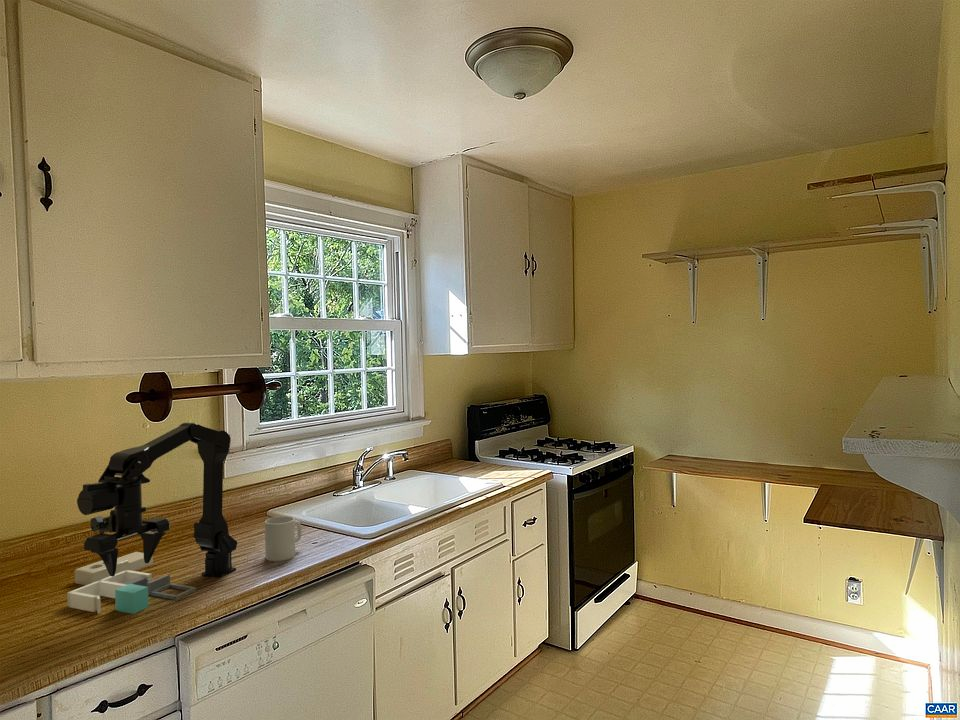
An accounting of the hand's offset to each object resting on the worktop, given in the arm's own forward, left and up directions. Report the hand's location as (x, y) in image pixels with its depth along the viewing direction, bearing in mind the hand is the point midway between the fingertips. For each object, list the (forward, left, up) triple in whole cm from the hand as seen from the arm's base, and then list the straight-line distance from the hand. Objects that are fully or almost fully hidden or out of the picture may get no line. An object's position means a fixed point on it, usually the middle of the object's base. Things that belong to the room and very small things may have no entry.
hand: (130, 569), depth 147 cm
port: (-4, -11, -10) cm, 15 cm away
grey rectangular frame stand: (-11, +2, -10) cm, 14 cm away
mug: (-44, +10, -10) cm, 46 cm away
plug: (0, 0, -10) cm, 10 cm away
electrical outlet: (-16, -26, -10) cm, 32 cm away
